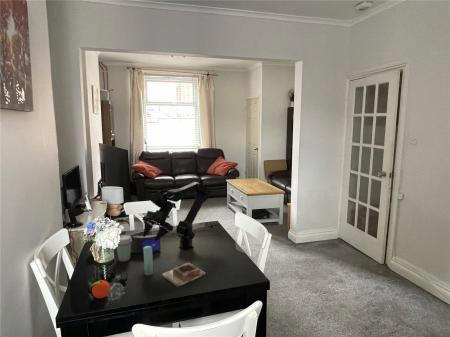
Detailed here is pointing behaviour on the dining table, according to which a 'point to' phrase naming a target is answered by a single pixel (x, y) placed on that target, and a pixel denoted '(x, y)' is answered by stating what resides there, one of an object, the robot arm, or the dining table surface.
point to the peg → (148, 260)
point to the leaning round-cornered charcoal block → (144, 243)
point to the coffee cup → (124, 248)
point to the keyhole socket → (183, 274)
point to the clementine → (100, 289)
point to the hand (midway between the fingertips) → (149, 238)
